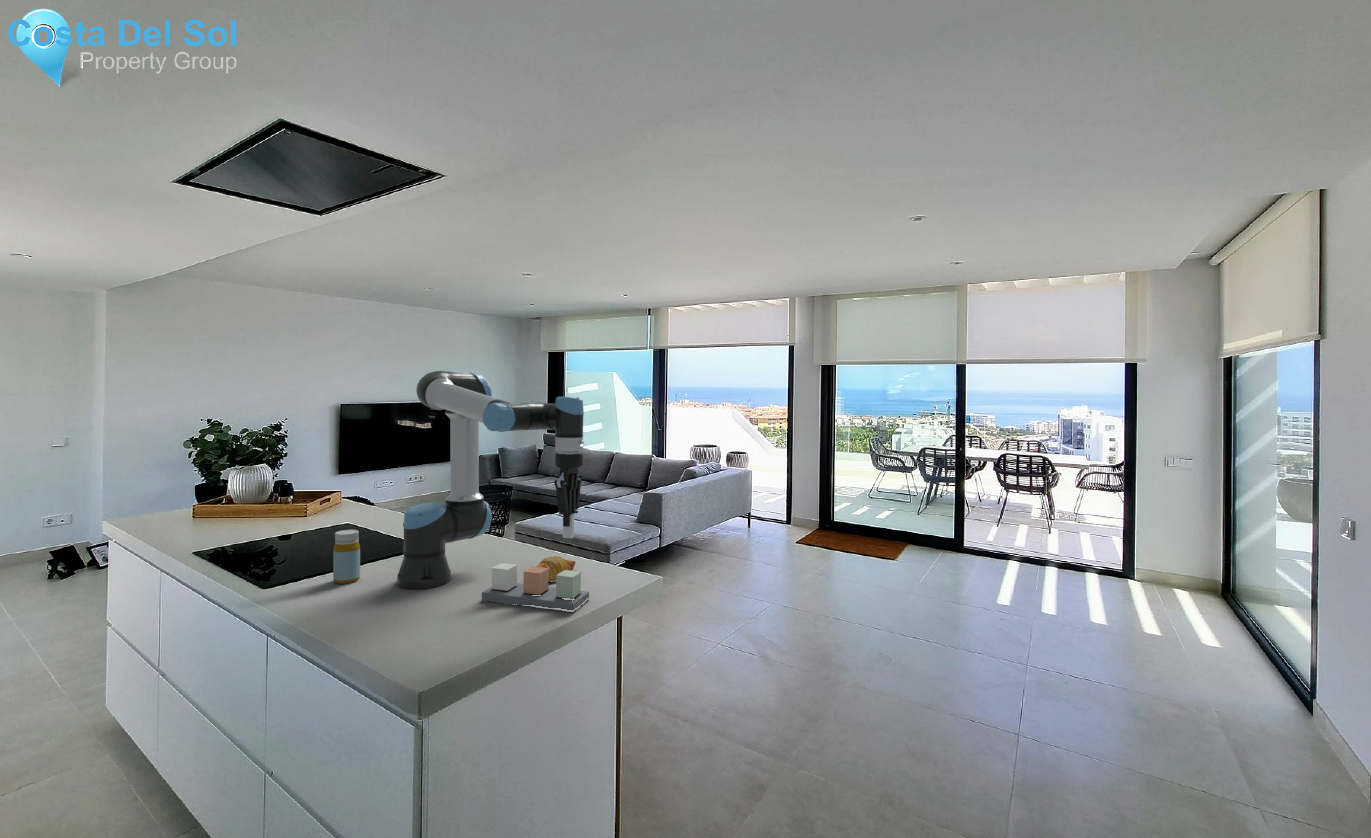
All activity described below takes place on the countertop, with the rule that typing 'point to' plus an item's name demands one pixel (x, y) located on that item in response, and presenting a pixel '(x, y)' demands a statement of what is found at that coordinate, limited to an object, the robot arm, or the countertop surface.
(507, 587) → the key white
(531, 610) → the countertop surface
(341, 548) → the bottle
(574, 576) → the key sage
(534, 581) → the key terracotta
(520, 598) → the grey slotted tray
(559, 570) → the croissant
